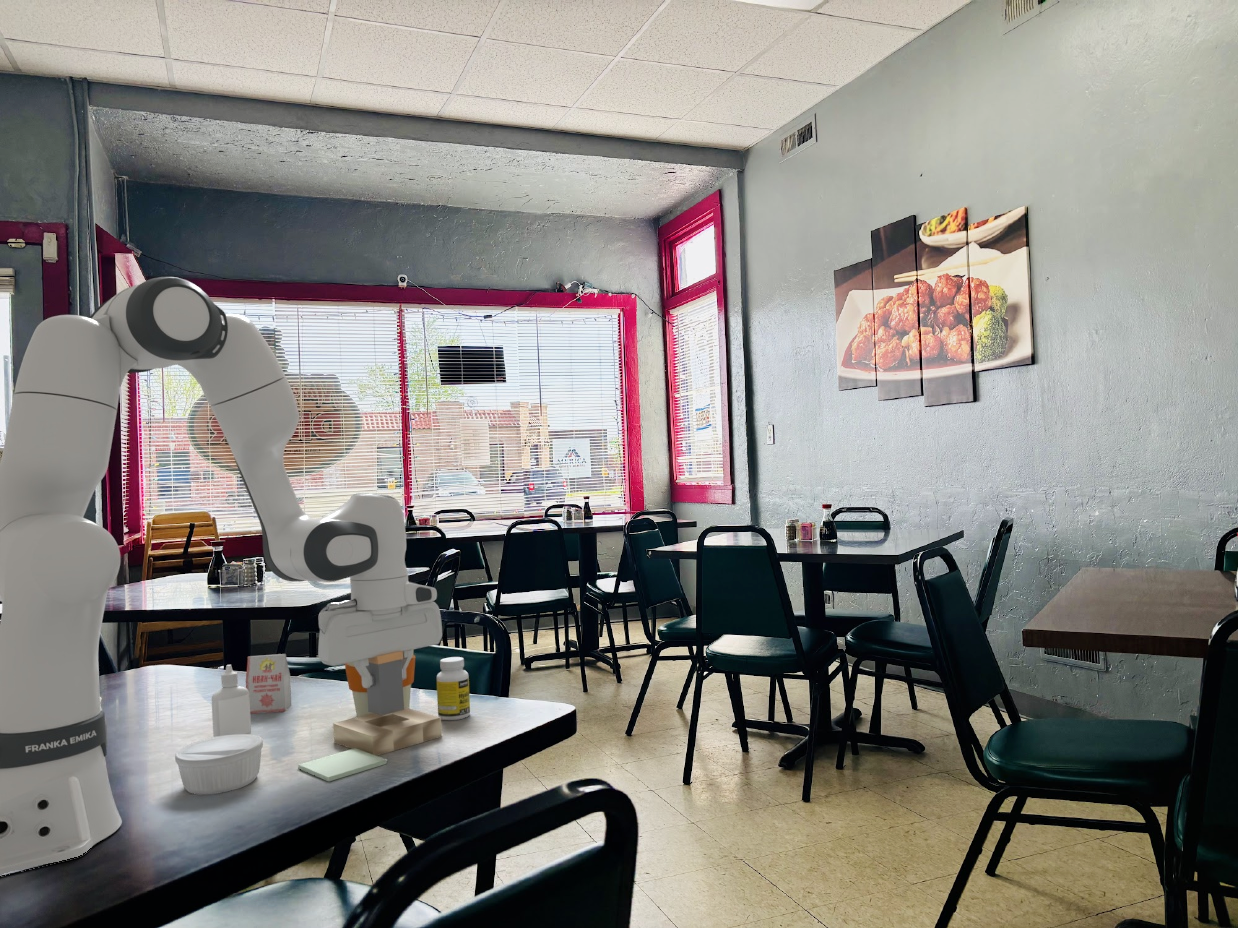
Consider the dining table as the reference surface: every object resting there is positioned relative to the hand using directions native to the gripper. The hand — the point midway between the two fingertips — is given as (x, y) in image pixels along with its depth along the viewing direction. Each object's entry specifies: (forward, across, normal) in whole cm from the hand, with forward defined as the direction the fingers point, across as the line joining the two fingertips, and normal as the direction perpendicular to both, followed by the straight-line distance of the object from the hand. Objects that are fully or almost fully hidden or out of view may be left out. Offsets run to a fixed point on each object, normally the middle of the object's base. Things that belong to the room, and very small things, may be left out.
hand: (384, 683), depth 141 cm
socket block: (+9, 0, 0) cm, 9 cm away
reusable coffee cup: (+9, +8, +15) cm, 19 cm away
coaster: (+9, -11, -6) cm, 15 cm away
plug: (+4, 0, 0) cm, 4 cm away
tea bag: (+9, -3, +36) cm, 37 cm away
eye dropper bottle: (+9, -15, +23) cm, 29 cm away
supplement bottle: (+9, +14, +2) cm, 17 cm away
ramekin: (+9, -25, +2) cm, 27 cm away
